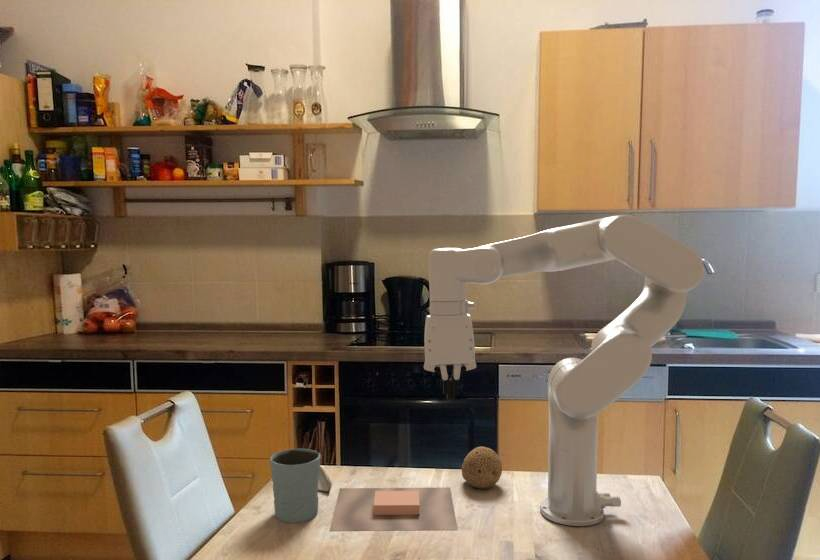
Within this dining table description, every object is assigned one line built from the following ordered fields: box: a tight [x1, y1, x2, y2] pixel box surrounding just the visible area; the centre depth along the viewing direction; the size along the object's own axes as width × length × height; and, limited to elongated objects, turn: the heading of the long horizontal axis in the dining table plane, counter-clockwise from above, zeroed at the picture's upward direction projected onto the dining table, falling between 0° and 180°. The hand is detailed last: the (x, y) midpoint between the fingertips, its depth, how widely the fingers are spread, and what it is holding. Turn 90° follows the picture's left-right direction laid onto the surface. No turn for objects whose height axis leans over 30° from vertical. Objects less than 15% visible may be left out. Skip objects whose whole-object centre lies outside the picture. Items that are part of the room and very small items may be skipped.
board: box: [329, 486, 459, 532], centre depth 130 cm, size 24×20×2 cm
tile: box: [374, 491, 419, 515], centre depth 129 cm, size 2×7×9 cm
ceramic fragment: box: [318, 465, 333, 494], centre depth 145 cm, size 14×5×4 cm, turn 21°
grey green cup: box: [269, 448, 321, 524], centre depth 130 cm, size 10×10×12 cm
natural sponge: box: [461, 446, 503, 490], centre depth 140 cm, size 9×9×10 cm
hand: (450, 397), depth 131 cm, fingers closed
